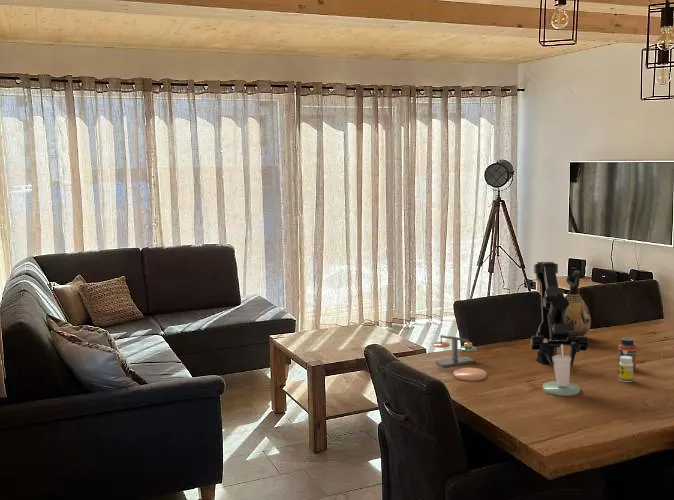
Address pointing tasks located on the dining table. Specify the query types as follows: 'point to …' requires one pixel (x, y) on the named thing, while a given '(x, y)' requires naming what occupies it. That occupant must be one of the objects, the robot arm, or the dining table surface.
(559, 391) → the green dish
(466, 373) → the terracotta dish
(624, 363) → the supplement bottle
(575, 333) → the ceramic jug
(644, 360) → the dining table surface
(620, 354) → the supplement bottle
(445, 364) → the balance
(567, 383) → the smoothie
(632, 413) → the dining table surface
